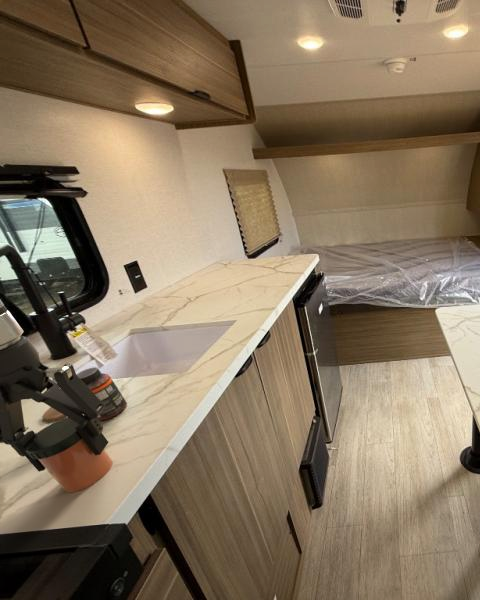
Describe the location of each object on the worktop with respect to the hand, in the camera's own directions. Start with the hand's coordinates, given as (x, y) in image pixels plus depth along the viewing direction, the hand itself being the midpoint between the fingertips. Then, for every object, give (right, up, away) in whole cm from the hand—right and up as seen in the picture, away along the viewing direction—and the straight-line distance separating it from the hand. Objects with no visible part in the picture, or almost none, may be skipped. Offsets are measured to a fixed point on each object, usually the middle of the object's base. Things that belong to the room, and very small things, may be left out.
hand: (74, 456), depth 56 cm
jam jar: (+1, -4, +2) cm, 5 cm away
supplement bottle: (-9, +1, +18) cm, 20 cm away
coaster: (-23, +1, +21) cm, 31 cm away
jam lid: (-1, +5, -2) cm, 5 cm away
